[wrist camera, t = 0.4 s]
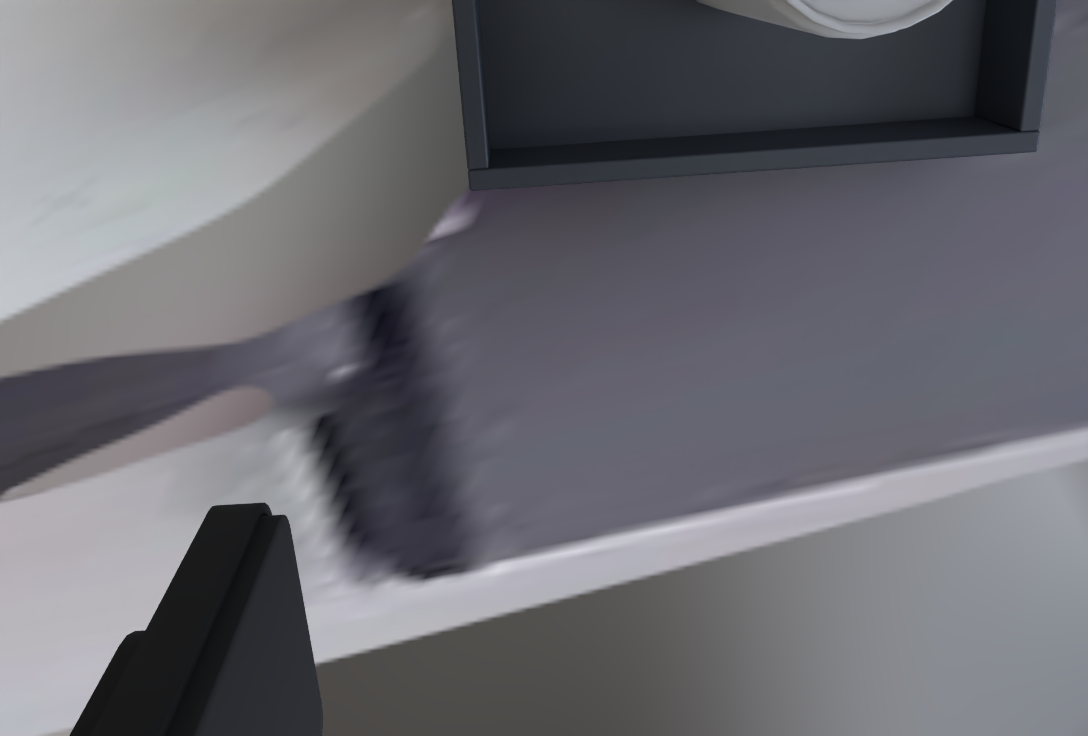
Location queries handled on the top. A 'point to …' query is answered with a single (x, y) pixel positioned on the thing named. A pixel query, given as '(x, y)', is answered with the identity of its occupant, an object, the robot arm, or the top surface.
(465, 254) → the top surface
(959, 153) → the desk tray
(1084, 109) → the top surface
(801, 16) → the beverage can
